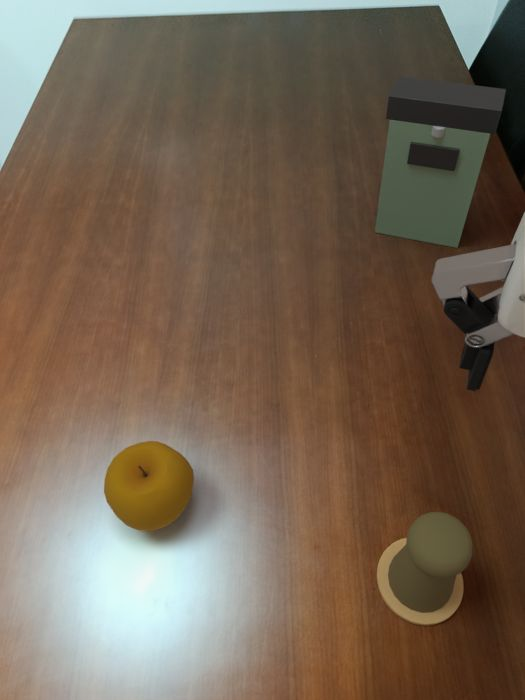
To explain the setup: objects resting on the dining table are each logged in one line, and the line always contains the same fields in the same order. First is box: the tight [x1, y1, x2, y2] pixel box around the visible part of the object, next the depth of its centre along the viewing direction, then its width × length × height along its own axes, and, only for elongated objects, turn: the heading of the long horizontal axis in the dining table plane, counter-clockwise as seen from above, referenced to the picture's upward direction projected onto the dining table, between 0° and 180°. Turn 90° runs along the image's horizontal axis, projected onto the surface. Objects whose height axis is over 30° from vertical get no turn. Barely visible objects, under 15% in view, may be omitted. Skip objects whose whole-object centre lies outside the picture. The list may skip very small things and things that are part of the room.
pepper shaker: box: [388, 511, 474, 613], centre depth 50 cm, size 6×6×11 cm
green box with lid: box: [374, 75, 507, 249], centre depth 77 cm, size 13×6×21 cm, turn 70°
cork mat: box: [376, 537, 465, 627], centre depth 55 cm, size 8×8×1 cm
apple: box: [103, 440, 195, 532], centre depth 58 cm, size 9×8×9 cm
